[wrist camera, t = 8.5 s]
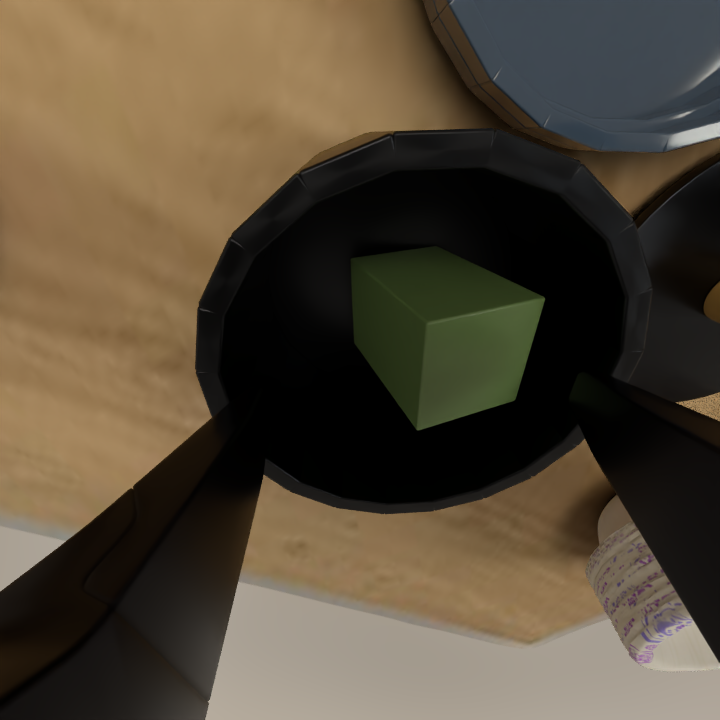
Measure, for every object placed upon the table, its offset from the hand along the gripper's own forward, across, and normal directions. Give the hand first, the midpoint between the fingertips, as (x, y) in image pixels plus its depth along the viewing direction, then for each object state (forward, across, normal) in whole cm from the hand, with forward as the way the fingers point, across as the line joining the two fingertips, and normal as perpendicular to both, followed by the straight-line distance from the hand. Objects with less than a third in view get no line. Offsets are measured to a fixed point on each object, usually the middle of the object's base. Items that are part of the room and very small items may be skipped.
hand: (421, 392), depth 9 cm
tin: (+7, 0, 0) cm, 7 cm away
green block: (+6, 0, 0) cm, 6 cm away
